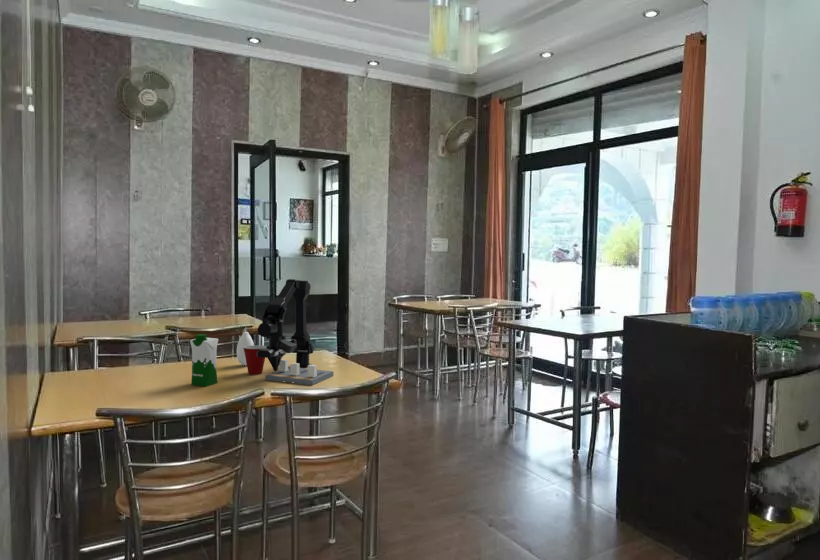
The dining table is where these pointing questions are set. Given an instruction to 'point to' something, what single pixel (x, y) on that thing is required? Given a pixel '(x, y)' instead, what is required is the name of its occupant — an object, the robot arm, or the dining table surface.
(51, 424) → the dining table surface
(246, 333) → the sauce bottle
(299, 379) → the breaker panel
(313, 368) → the block
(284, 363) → the block
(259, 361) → the plastic cup
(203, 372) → the milk carton
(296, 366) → the block
